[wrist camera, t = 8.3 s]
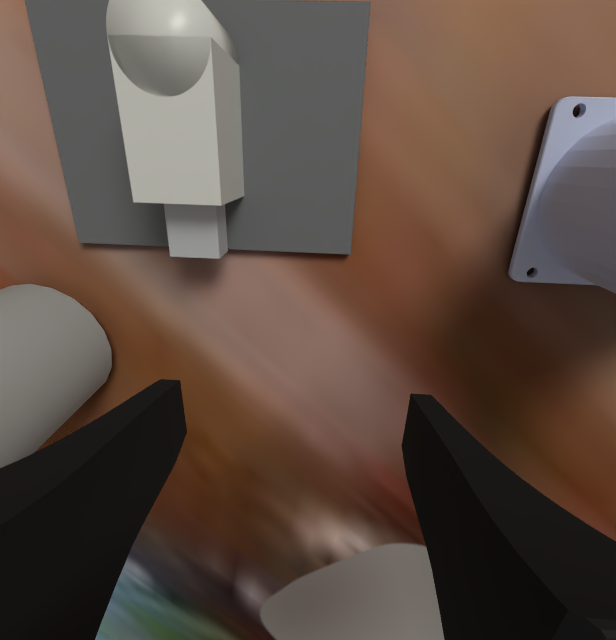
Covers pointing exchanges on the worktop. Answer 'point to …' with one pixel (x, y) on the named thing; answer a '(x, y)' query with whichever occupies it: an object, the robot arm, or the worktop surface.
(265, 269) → the worktop surface
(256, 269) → the worktop surface
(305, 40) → the mat
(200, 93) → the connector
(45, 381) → the can
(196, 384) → the worktop surface
